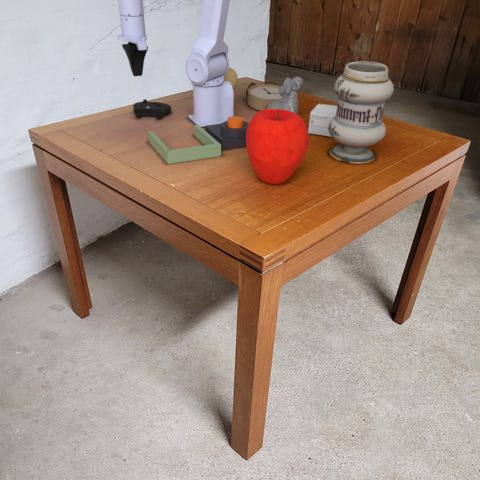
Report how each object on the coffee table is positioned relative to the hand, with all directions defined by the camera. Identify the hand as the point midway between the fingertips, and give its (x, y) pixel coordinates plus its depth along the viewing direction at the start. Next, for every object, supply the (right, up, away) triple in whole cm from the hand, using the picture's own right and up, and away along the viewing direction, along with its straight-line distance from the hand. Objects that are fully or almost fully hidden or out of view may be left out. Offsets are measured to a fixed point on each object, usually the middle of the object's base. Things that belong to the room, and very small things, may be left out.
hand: (137, 75), depth 131 cm
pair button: (+25, -20, -18) cm, 37 cm away
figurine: (+36, -14, -4) cm, 39 cm away
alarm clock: (+33, -4, +8) cm, 34 cm away
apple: (+33, -35, -30) cm, 57 cm away
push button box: (+24, -22, -14) cm, 35 cm away
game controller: (+4, -11, -2) cm, 12 cm away
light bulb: (+22, -7, +4) cm, 24 cm away
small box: (+47, -17, -8) cm, 51 cm away
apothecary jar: (+51, -27, -19) cm, 61 cm away
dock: (+14, -25, -19) cm, 34 cm away
